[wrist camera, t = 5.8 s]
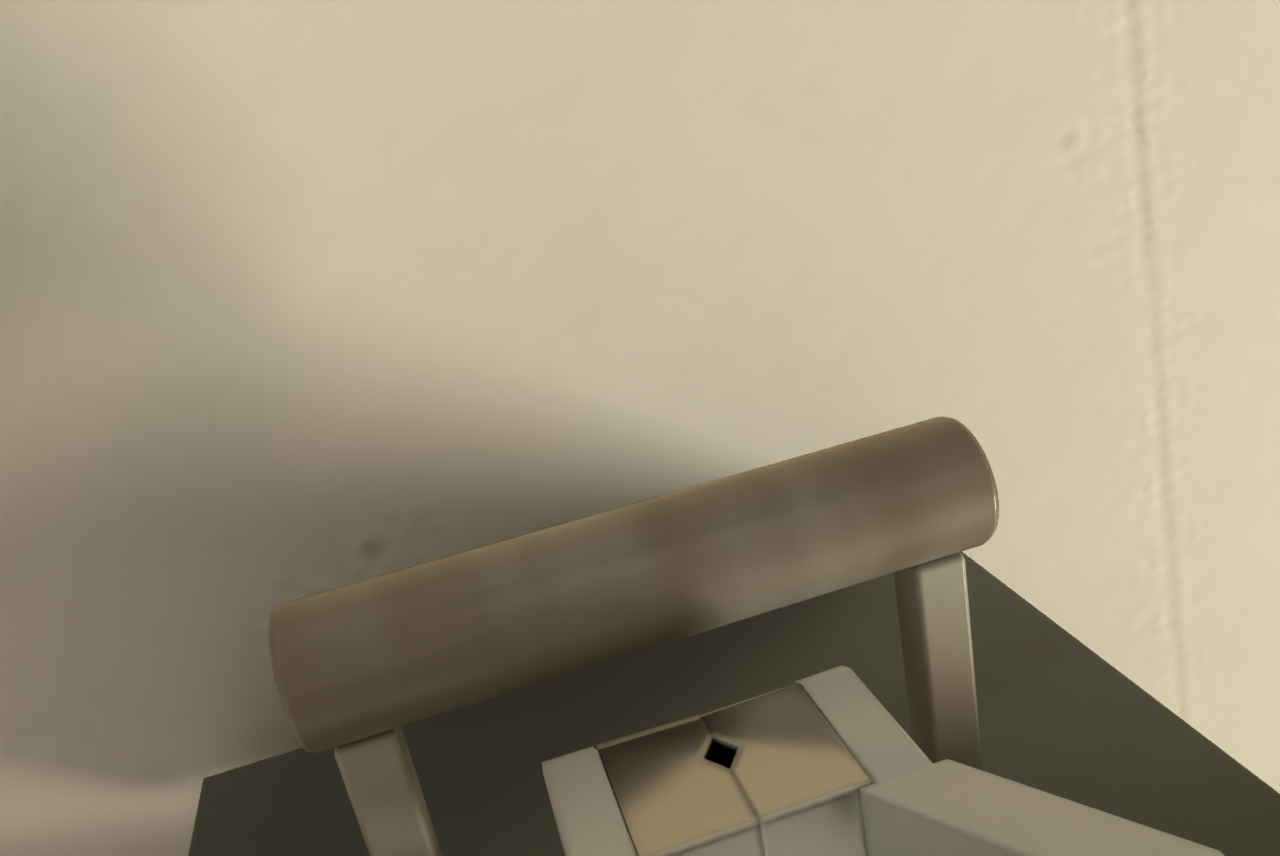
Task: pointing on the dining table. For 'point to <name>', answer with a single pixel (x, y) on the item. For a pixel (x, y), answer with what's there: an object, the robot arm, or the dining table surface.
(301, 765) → the drawer
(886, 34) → the dining table surface
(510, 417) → the dining table surface
